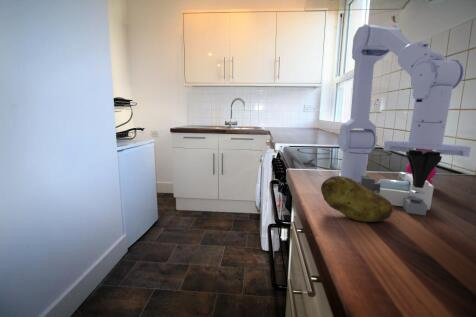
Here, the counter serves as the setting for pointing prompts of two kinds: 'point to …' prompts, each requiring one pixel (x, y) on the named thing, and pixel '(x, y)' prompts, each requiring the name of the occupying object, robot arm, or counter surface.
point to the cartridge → (384, 184)
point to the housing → (402, 197)
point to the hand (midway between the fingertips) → (417, 186)
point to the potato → (355, 200)
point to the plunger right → (416, 196)
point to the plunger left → (402, 176)
